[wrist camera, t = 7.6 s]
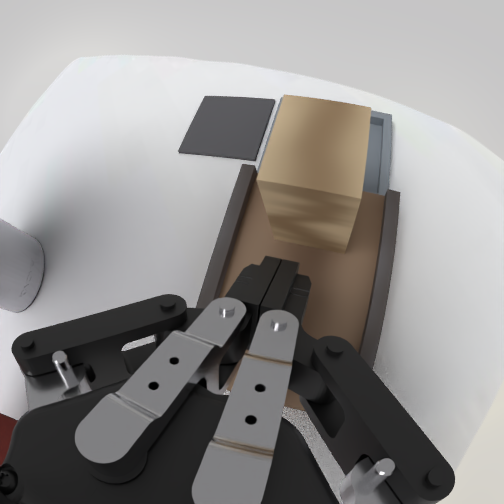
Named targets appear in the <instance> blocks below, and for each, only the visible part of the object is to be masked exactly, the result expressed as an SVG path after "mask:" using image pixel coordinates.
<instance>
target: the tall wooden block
mask: <svg viewBox="0 0 504 504" xmlns="http://www.w3.org/2000/svg"><path fill="white" fill-rule="evenodd" d="M370 118H371V108H370V107H365V106H360V105H355V104H349V103H343V102H337V101H331V100H324V99H317V98H309V97H301V96H292V95H284V97H283V100H282V103H281V106H280V109H279V112H278V115H277V118H276V121H275V124H274V127H273V130H272V133H271V136H270V139H269V142H268V145H267V148H266V151H265V154H264V157H263V161H262V164H261V167H260V170H259V173H258V176H257V179H256V180H257V183H258V186H259V190H260V193H261V196H262V200H263V203H264V206H265V209H266V213H267V216H268V219H269V223H270V226H271V229H272V233H273V236H274V239H275V240H280V241H285V242H290V243H294V244H299V245H304V246H309V247H313V248H318V249H323V250H327V251H332V252H337V253H341V254H345V251H346V248H347V245H348V242H349V238H350V235H351V232H352V229H353V225H354V222H355V219H356V215H357V212H358V209H359V205H360V202H361V197H362V190H363V183H364V175H365V167H366V158H367V149H368V140H369V129H370Z"/></svg>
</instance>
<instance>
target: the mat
mask: <svg viewBox="0 0 504 504" xmlns="http://www.w3.org/2000/svg"><path fill="white" fill-rule="evenodd" d="M274 103H275V99H263V98H248V97H227V96H205V97H204V99H203V101H202V103H201V105H200V107H199V109H198V111H197V113H196V115H195V117H194V119H193V121H192V123H191V125H190V127H189V129H188V131H187V133H186V135H185V137H184V140H183V142H182V144H181V146H180V148H179V150H178V152H179V153H185V154H196V155H207V156H217V157H226V158H235V159H243V160H251V161H255V159H256V156H257V153H258V150H259V147H260V144H261V141H262V138H263V135H264V132H265V129H266V126H267V123H268V120H269V117H270V114H271V111H272V109H273V106H274Z"/></svg>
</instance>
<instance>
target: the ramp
mask: <svg viewBox="0 0 504 504" xmlns="http://www.w3.org/2000/svg"><path fill="white" fill-rule="evenodd" d="M257 176H258V173H257V171H256V168H255V166H254V165H247V164H242V167H241V169H240V172H239V175H238V178H237V181H236V184H235V187H234V190H233V193H232V196H231V199H230V202H229V205H228V208H227V211H226V214H225V217H224V220H223V223H222V226H221V229H220V232H219V235H218V238H217V241H216V245H215V248H214V251H213V254H212V257H211V260H210V263H209V267H208V270H207V273H206V276H205V279H204V283H203V286H202V289H201V292H200V296H199V299H198V302H197V306H196V308H206V307H207V306H208V305H209V304H210V303H211V302H212V301H213V300H215V299H218V298H224V297H225V295H226V294H227V292H228V291H229V289H230V288H231V286H232V285H233V283H234V282H235V281H236V279H237V277H238V276H239V274H240V273H241V271H242V270H243V268H245V267H247V266H249V265H250V264H255V265H260V264H261V262H262V261H263V259H264V257H265V256H271V257H276V258H280V259H282V260H283V259H285V260H290V261H295V262H299V263H300V264H299V271H298V274H301V275H306V276H309V278H310V281H311V283H312V284H311V289H310V294H309V299H308V303H307V308H306V312H305V316H304V319H303V323H302V327H303V329H304V331H305V332H306V333H307V334H309V335H310V336H312V337H313V338H315V339H317V340H318V339H320V338H321V337H324V336H338V337H341V338H343V339H345V340H347V341H348V342H349V343H350V344H351V345H352V346H353V347H354V348H355V350H356V351H357V352H358V353H359V354H360V356H361V357H362V358H363V359H364V360H365V362H366V363H367V364H368V365H369V366H370V368H371V369H373V365H374V361H375V357H376V353H377V349H378V344H379V340H380V335H381V330H382V325H383V320H384V315H385V310H386V304H387V299H388V293H389V287H390V280H391V274H392V267H393V260H394V252H395V244H396V235H397V225H398V214H399V202H400V192H397V191H393V190H388V189H387V191H386V194H385V196H383V195H379V194H374V193H369V192H365V191H362V197H361V202H360V205H359V209H358V212H357V215H356V219H355V222H354V225H353V229H352V232H351V235H350V238H349V242H348V245H347V248H346V251H345V254H341V253H337V252H332V251H327V250H323V249H318V248H313V247H309V246H304V245H299V244H294V243H290V242H285V241H280V240H275V239H274V236H273V233H272V229H271V226H270V223H269V219H268V216H267V213H266V209H265V206H264V203H263V200H262V196H261V193H260V190H259V186H258V183H257V180H256V179H257ZM248 352H249V350H246V352H245V353H247V354H248ZM242 359H243V357H242ZM238 370H239V369H238ZM237 373H238V371H237ZM237 373H236V374H235V376H234V377H233V379H232V381H231V382H230V384H229V386H228V387H227V389H226V390H229V391H231V389H232V387H233V384H234V381H235V378H236V376H237ZM284 406H286V407H290V408H294V409H298V410H302V411H305V409H304V408H303V406H302V404H301V402H300V399H299V395H298V394H297V393H295V392H293V391H291V390H289V389H287V394H286V398H285V403H284Z"/></svg>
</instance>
